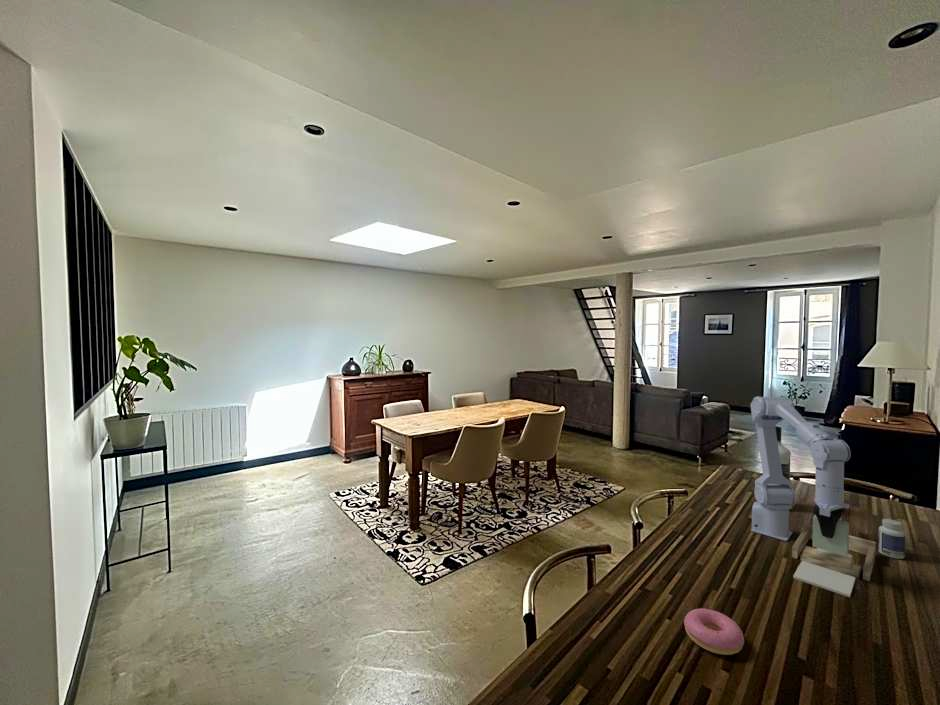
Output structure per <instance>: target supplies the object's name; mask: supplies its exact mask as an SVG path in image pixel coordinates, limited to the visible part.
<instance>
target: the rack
mask: <svg viewBox="0 0 940 705" xmlns="http://www.w3.org/2000/svg"><path fill="white" fill-rule="evenodd" d="M803 526H804V528H803V529H802V531H801V533H800V534H799V536H798V537H797V539H796V540H795V542H794V543H793V545H792V546H791V558H793V559H796V560H797V559H798V558H799V557H800V561H805V562H808V563H811V564H814V565H817V566H821V567H824V568H827V569H830V570H834V571H837V572H840V573H843V574H846V575H850V576H853V577H855V578H856V579H859V578H860V575H861V571H862V580H863V581H867V582H870V580H871V576H872V573H873V572H872V571H873V568H874V565H875V559H876V556H877V555H876V553H877V552H876V551H877V549H876V548H877V542H876V541H873V540H869V539H865V538H862V537H857V536H853V535H850V534H849V551H851V550H852V552H854V551H855V552H854V553H858V552H859V553H858V554H862V555H866V557H865V560H864V565H863V567H862V566H860V565H857V564H854V559H853V555H852V554H850V553H848V555H847V556H844V555H840V554H837V553H833V552H830V551H826V550H823V549H819V548H816V547H812V546H808V545H807V543H809V542H808V541H809V540H812V541H813V525H811V524H807V523H806V524H804V525H803Z"/></svg>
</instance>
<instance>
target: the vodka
mask: <svg viewBox="0 0 940 705" xmlns="http://www.w3.org/2000/svg"><path fill="white" fill-rule="evenodd" d="M775 429H776V435H777V442H778V448H779V455H780V461H781V467H782V474H783V476H784V477H785V478H787V479H788V480H789V481H791V457H792V456H791V455H792V453H791V451H790V449H789V448H787V447H786V446H785V445H783V444H782V426H777V425H776V426H775ZM768 485H779V484H768Z"/></svg>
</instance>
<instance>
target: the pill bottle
mask: <svg viewBox="0 0 940 705" xmlns="http://www.w3.org/2000/svg"><path fill="white" fill-rule="evenodd" d="M902 529H903V523H902V522H901V521H899V520H894V519H891V518H882V521H881V525H880V526H879V527H878V552H879V553H880V554H882V555H883V556H886V557H888V558H892V559H898V560H901V559H902V560H903V559H904V558H905V557H906V555H905V554H906V533H905V531H904V530H902Z"/></svg>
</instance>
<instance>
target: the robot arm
mask: <svg viewBox="0 0 940 705" xmlns="http://www.w3.org/2000/svg"><path fill="white" fill-rule="evenodd" d="M750 411H751V412H750V413H751V418H752V422H753V423H755V429H756V435H757V442H758V448H759V455H760V462H761V463H760V464H761V469H762V475H760V477H758V478H756V479H754V497H755V501H754V502H753V504H752V508H751V528H750V531H751V532H754V533H756V534H761V535H764V536H767V537H771V538H773V539H774V538H775V539H778V540H781V541H785V542H787V541H788V540H789V539H790V537H791V536H792V534H793V531H791V530H790V529H789V527H790V525H789V524H790V522H789V520H790V519H789V518H790V510H791V509H792V507H793V506H795V505H796V503H797V493H796V491H795V489H794V487H793V483H792V481H791V480H790V481H789V480H788V479H787V478H785V477H784V476H783V474H782V467H781V461H780V455H779V448H778V442H777V435H776V429H775V426H777V425H778V424H779V423H781V422H783V421H785V422H786V423H788V424H789V425H790V426H791V427H792V428H793V429H795V435H796V436H797V437H798V438H799V439H800V440H801V441H802V442H803V443H805V445H806V446H807V447H808V448H809V451H810V455H811V457H812V461H813V462H812V463H813V466H814V467H815V486H814V487H815V490H814V491H815V494H814V495H815V496H814V498H813V501H814V503H815V504H816V507H815V506H814V507H813V510H812V511H813V514H814V515H816V517H817V519H818V521H819V525H820V529H821V533H822V536H824V537H828V538H831V539H832V538H833V536H834V533H835V529H836V525H837V522H838V521H839V520H841V518H842V517H843V514H844V512H845V509H850V507H851V506H850V503H845V502H844V500H845V499H844V494H845V492H844V490H845V486H844V485H845V484H844V483H845V479H844V478H845V463H846V462H848V461H849V460H850V459H851V456H852V455H851V449H850V446H849V445H848V443H846V442H845V440H843V439H838V438H834V437H831V435H830V434H828V432H826V431H825V430H824V429H822V428H821V427H820V425H819V424H818V423H817V422H813V421H807V420H806V419H805V418H804V417H803V416H802V415H801V414H800V413H799V412H798V410H797V409H796V408H795V404H794V401H793V400H792V399H791V398H789V397H788V396H755V397H754V398H753V399H752V401H751V402H750ZM768 484H779V485H768Z"/></svg>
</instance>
